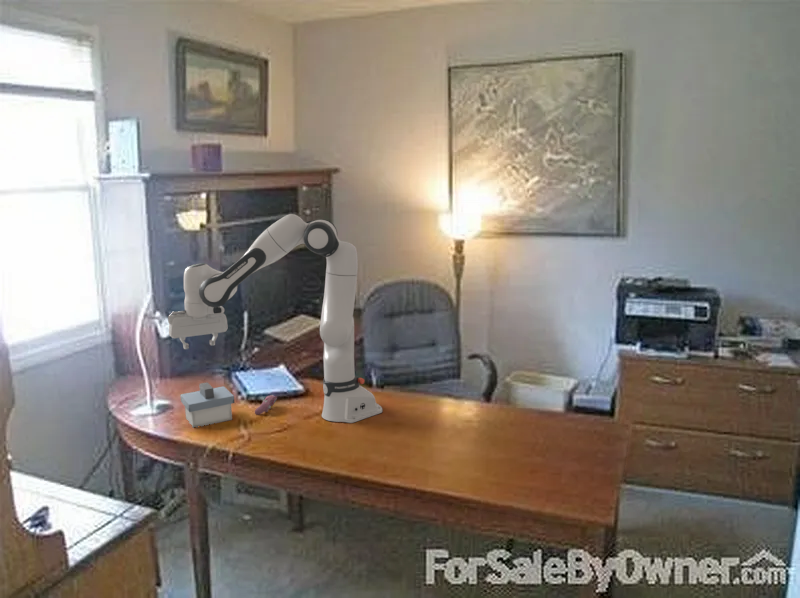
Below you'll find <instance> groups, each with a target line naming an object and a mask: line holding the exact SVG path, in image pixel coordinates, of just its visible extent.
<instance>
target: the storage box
mask: <svg viewBox="0 0 800 598" xmlns="http://www.w3.org/2000/svg"><path fill="white" fill-rule="evenodd" d="M184 411H185V419H186V420H188V421H189V422H188V421H187V422H188V423H189V425H190V424H191V425H192V426H191V425H190V426H191V427H192V429H195V428H194V427H196V428H199V427H198V426H201V427H205V426H209V424H210V425H215V424H219V423H223V422H228V421H232V420H233V411H232V404H227V405H222V406H217V407H212V408H207V409H203V410H198V411H193V412H189V411H188V410H187V409H186V407H185V406H184ZM214 423H215V424H214ZM204 425H205V426H204Z"/></svg>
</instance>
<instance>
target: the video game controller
mask: <svg viewBox="0 0 800 598" xmlns="http://www.w3.org/2000/svg"><path fill="white" fill-rule="evenodd" d="M277 399H278V396H276V395H273V394H271V395H267V396H266V397H265V398H264V400H263V401H262V403H261V404H260V405H259V406H258V407H256V408H255V410H254V414H255V415H256V416H257V415H259V416H260V415H262V414H263V413H266V412H267V413H268V412H269V410H271V409H273V406H274V404H275V403H276V401H277Z"/></svg>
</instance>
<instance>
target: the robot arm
mask: <svg viewBox="0 0 800 598" xmlns="http://www.w3.org/2000/svg"><path fill="white" fill-rule="evenodd" d="M302 244H303V245H305V247H306V248H307V249H308V250H309V251H310V252H313V253H314V254H317V255H318V256H319V255H320V256H322V257H324V258H325V259H326V266H325V267H326V268H325V281H324V293H323V300H322V301H323V302H322V307H321V315H320V324H319V335H320V338H321V340H322V342H323V357H322V358H323V359H322V361H323V377H324V378H323V380H322V381H323V382H322V386H323V387H322V388H323V389H322V390H323V394H324V399H323V408H322V413H321V418H323V419H324V420H326V421H329V422H335V423H336V422H337V423H338V422H339V423H341V422H342V423H348V424H353V423H356V422H359V421H362V420H364V419H368V418H370V417H373V416H377V415H379V414H382V413H383V407H382V406H381V405H380V404H379V403H377V400H376V397H375V395H374V394H373V393H372V392H371V391H369V390H367V389H366V388H365V387H363V386H362V385H363V384H365V378H362V377H359V376H356V375H355V371H356V370H355V317H354V310H355V301H356V294H357V283H358V282H357V281H358V271H359V270H358V269H359V268H358V266H359V265H358V263H359V261H358V252H357V251H358V250H357V247H356V246H355V245H354V244H352V243H351V242H349V241H343V240H341V239H339V237H338V230H337V227H336V226H335V224H334V223H333V222H331V221H330V220H328V219H316V220H309V221H305V220H303V219H302V218H301V217H300V216H299V215H297V214H294V213H289V214H286V215H284V216H283V217H281V218H279V219H278V220H277V221H275V222H273V223H272V224H271V225H270V226H268V227H267V228H266V229H264V230H263V231H262V233H260V234H259V235H258V236H257V237H256V239H255V240H254V241H253V242H252V244H251V245H250V246H249V248H248V249H247V251H246V252H245V253H244V254H243V255H242V256H241V257H240V259H238V260H236V262H235V263H234V264H232V265H231V266H230V267H228V268H227V269H226V270H225V271H220V270H217V269H215V268H213V267H211V266H210V265H208V264H207V263H205V262H203V263H195V264H194V263H193V264H191V265H188V266H187V267H185V269H184V272H183V291H184V300H183V301H184V310H179V311H172V312H171V313H170V314H169V315H168V316H167V321H168V324H169V325H168V335H169V337H171V338H172V339H179V341H180V342H181V343H182V346H183V350H189V349H190V347H189V346H190V344H189V343H188V342H185V341H186V338H188V337H195V336H196V337H197V336H203V335H204V336H205V335H212V338H211V339H209V345H210V346H216V341H217V338H218V337H219V334H221V333H225V332H227V330H228V327H229V326H228V319H227V316H226V314H225V308H224V307H223V306H224V305H225V304H226V303H227V302H228V301H229V300H230V299H231V298H233V296H234V295H235V294H236V293H237V291H238V287H239V285H240V284H241V283H243V281H245V280H246V279H247V278H248V277H249V276H251V275H252V274H254V273H256V272H257V271H259V270H260V269H262V268H263V269H264V267H267V266H270V265H271V264H274V263H276V262H278V261H279V260H281V259H282V258H283V257H285V256H286V255H288V254H289V253H290V252H291V251H292V250H294V249H295V248H296V247H297V246H299V245H302Z"/></svg>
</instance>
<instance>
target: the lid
mask: <svg viewBox="0 0 800 598" xmlns="http://www.w3.org/2000/svg"><path fill="white" fill-rule="evenodd" d="M198 384H199V386H198V387H199V390H197V391H191V392H186V393H182V394H180V403H182V405H183V406H184V408H185V407H186V409H187V410H188V411H189V412H193V411H198V410H203V409H207V408H212V407H217V406H222V405H227V404H231V405H233V404H235V395H234V394H232V392H231V391H229V390H228V388H227V387H225V386H224V385H223V386H218V387H213V386H212V385H211V384H210V383H209V382H202V383H201V382H200V383H198Z"/></svg>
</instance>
